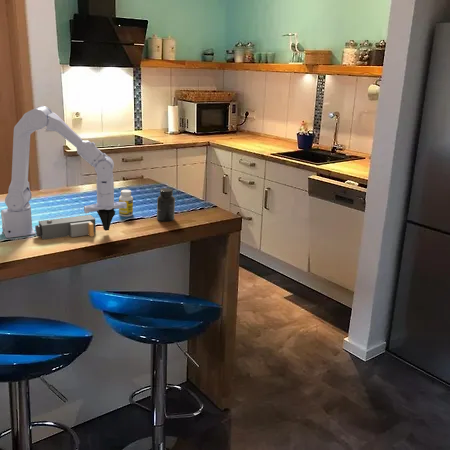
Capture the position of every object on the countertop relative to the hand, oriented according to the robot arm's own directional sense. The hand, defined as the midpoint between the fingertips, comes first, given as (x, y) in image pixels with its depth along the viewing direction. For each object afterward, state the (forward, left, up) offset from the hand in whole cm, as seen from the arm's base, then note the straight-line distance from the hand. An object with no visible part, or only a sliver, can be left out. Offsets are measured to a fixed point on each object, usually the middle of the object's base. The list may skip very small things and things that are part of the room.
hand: (106, 229), depth 175 cm
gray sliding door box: (-12, +6, -2) cm, 13 cm away
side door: (-8, +1, -1) cm, 8 cm away
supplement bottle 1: (+14, +18, -2) cm, 23 cm away
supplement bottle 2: (+26, +7, -2) cm, 27 cm away
